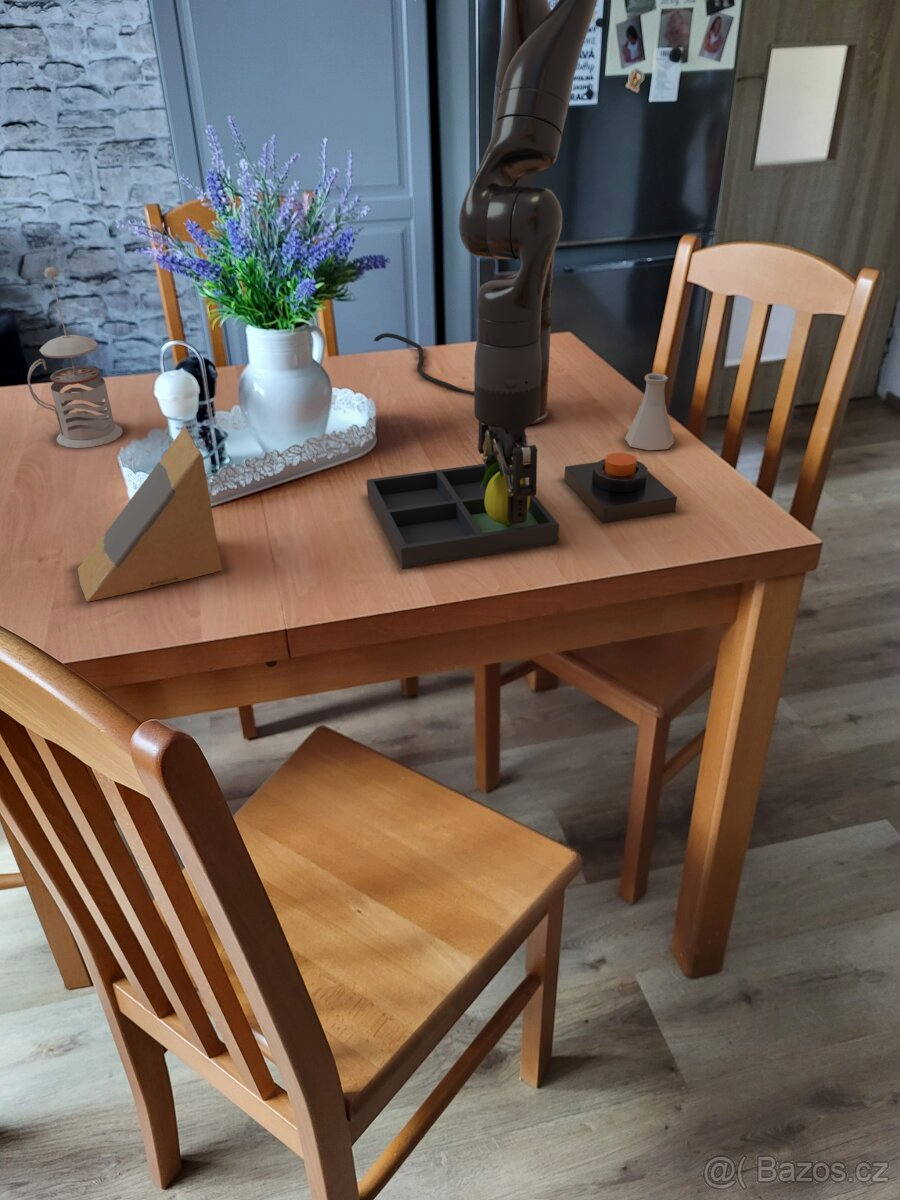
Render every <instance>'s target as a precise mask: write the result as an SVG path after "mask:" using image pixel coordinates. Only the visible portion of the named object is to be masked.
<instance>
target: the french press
mask: <svg viewBox="0 0 900 1200" xmlns="http://www.w3.org/2000/svg"><path fill="white" fill-rule="evenodd" d="M43 275H44V277H45V278H50V279H51V282H52V287H53V290H54V294H55V299H56V302H57V307H58V311H59V315H60V319H61V324H62V327H63V332H64V335H60V336H57V337H55V338H52V339H50V340H48V341H47V342H46V343H44V344H43V345H42V346H41V347H40V348H39V352H40V353H41V355H42V356H43V357H46V358H51V359H69V358H70V360H71V367H70V366H69V367H64V368H62V369H59V370H56V371H53V372H52V373H51V374H50V377H49V379H50V380H51V382H52V383H51V385H50V390H51V395H52V398H53V402H54V404H52V403H48V402H45V401H44V400H41V399H40V398H39V397H38V396H37V394H36V393H35V392H34V391H33V387H32V384H31V377H32V373H33V372H34V370H35V369H36V367H38V366H40V364H41V365H42V366H43V370H45V371H47V368H48V367H47V364H46V360H45V359H44V358H38V359H37V360H36V361H34V362H33V363H32V364H31V366H30V367H29V370H28V373H27V386H28V389H29V392H30V395H31V396H32V399H33V400H34V401H35V402H36V403H37V404H38V405H39V406H41V407H42V408H44V409H47V410H50V411H53V412H55V416H56V419H57V423H58V427H59V430H60V432H59V434H58V435H57V437H56V440H55V441H56V442H57V443H58V445H60V446H62V447H66V448H72V449H74V448H75V449H84V448H93V447H98V446H102V445H106V444H109V443H111V442H113V441H116V440H117V439H118V438H120V437H121V436H123V435H122V434H123V432H124V431H123V428H122V427H121V426H119V425H118V424H117V423H115V421H114V417H113V411H112V407H111V402H110V399H109V394H108V390H107V386H106V385H107V384H106V380H105V379H104V378H103V377H101V376H100V374H101V370H100V368H98V367H95V366H94V367H93V366H90V365H89V366H88V365H82V366H80V365H78V366H75V364H74V360H73V358H76V357H82V356H85V355H90V354H91V353H93V352H95V351H96V350H97V348H98V346H99V344H98V342H97V341H96V340H94V339H92V338H89V337H86V336H83V335H79V334H67V331H66V327H65V323H64V318H63V314H62V309H61V306H60V305H61V304H60V301H59V297H58V293H57V289H56V284H55V280H54V278H56V277H59V275H60V274H59V271H58V269H56V268H55V267H52V266H50V267H46V268H45V269H44V271H43ZM69 385H70V386H73V385H81V386H85V387H87V388H90V389H85V388H83V387H70V388H68V389H66V390H64V391H63V392H61V391H62V390H63V389H64V388H66V387H67V386H69ZM74 401H82V402H83V403H72V402H74ZM84 402H86V403H87V402H88V403H91V404H93V405H96V406H93V405H89V404H88V403H87V404H86V403H84ZM69 403H70V404H69ZM75 409H78V410H77V411H74V410H75ZM86 410H87V411H86ZM72 411H74V412H72ZM89 411H91V412H89ZM92 412H96V413H99V414H95V413H92Z"/></svg>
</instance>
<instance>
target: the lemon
mask: <svg viewBox="0 0 900 1200" xmlns="http://www.w3.org/2000/svg"><path fill="white" fill-rule="evenodd" d="M507 467H508V468H509V466H507ZM511 467H512V468H513V465H511ZM498 468H499V465H498V462H496V463H494V464H493V465H491V466H490V467H489V469H488V470H487V472H486V474H485V476H484V479H483V481H482V484H481V487H482V486H483V485H484V483H485V482H486V481H487V479H488V478H489V477H490V476H491V475H492V474H493V473H494V472H495V471H496V470H497V469H498ZM512 479H513V476H512ZM520 484H522V479H521V480H520ZM481 487H480V488H481ZM529 505H530V496H527V512H528V509H529ZM507 506H508V492H507V485H506V480H505V478H503V477H501V475H500V472H498V473H496V474H495V475H494V476H493V477H492V478H491V479H490V481H489V483H488V485H487V489H486V493H485V508H486V511H487V513H488V515H489V517H490V518H491V519H492V520H494V521H495V522H498V523H501V524H504V525H505V526H506V527H508V526H510V525H511V524H510V523H509V521H508V520H507Z"/></svg>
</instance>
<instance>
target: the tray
mask: <svg viewBox="0 0 900 1200" xmlns="http://www.w3.org/2000/svg"><path fill="white" fill-rule="evenodd" d="M485 465H487V464H484V463H479V464H473V465H465V466H457V467H451V468H442V469H435V470H434V469H433V470H427V471H420V472H413V473H412V472H411V473H405V474H398V475H391V476H384V477H375V478H369V479H366V490H367V499H368V502H369V503H370V506H371V507H372V509H373V511H374V514H375V516H376V518H377V520H378V522H379V524H380V527H381V528H382V530H383V533H384V535H385V536H386V539H387V541H388V543H389V544H390V546H391V549H392V552H393V553H394V555H395V557H396V559H397V561H398V563H399V565H400V567H401V569H402V570H403V569H409V568H415V567H416V568H417V567H420V566H421V567H422V566H428V565H434V564H440V563H441V564H442V563H447V562H453V561H459V560H466V559H471V558H478V557H484V556H491V555H497V554H503V553H510V552H514V551H515V552H516V551H521V550H526V549H527V550H528V549H533V548H539V547H540V548H541V547H546V546H547V547H548V546H553V545H558V544H559V532H560V523H559V522H558V521H557V520H556V519H555V518H554V516H553V515H552V514H551V513H550V512H549V510H547V508H546V507H545V506H544V505H543V503H542V502H541V501H540V500H539V499H538V497H537V496H536V495H533V496H530V505H529V509H528V512H527V519H526V521H525V522H523V523H517V524H511V525H510V526H508V527H506V526H505V525H504V524H501V523H498V522H495V521H494V520H492V519H491V518H490V517H489V515H488V513H487V511H486V508H485V493H486V490H485V483H484V485H483V486H482V487H481V484H482V481H483V479H484V476H485ZM511 466H512V465H511ZM511 466H509V468H512V467H511ZM480 487H481V488H480Z"/></svg>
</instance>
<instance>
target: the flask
mask: <svg viewBox="0 0 900 1200" xmlns="http://www.w3.org/2000/svg"><path fill="white" fill-rule="evenodd" d="M644 380H645V382H646V384H645V390H644V394H643V397H642V401H641V403H640V406H639V408H638V410H637V412H636V414H635V417H634V419H633V421H632V423H631V425H630V427H629V429H628V431H627V433H626V435H625V437H624V440H625V441H626V443H627V445H629V447H631V448H636V449H641V450H646V451H657V450H658V451H659V450H661V451H662V450H669V449H670V448H671V447H672V445H674V443H675V438H674V435H673V431H672V427H671V422H670V420H669V419H670V418H669V415H668V410H667V405H666V395H665V388H666V383H667V382H668V380H669V377H668V376H667V375H666V374H664V373H663V374H662V373H658V372H657V373H647V374H645V376H644Z"/></svg>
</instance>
